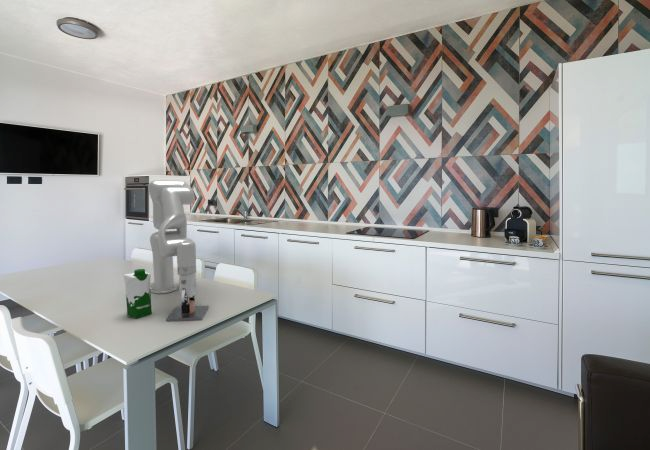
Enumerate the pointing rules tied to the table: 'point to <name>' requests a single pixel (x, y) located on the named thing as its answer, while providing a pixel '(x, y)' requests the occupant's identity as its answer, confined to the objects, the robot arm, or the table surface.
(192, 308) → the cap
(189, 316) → the stud plate
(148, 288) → the milk carton
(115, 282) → the table surface
